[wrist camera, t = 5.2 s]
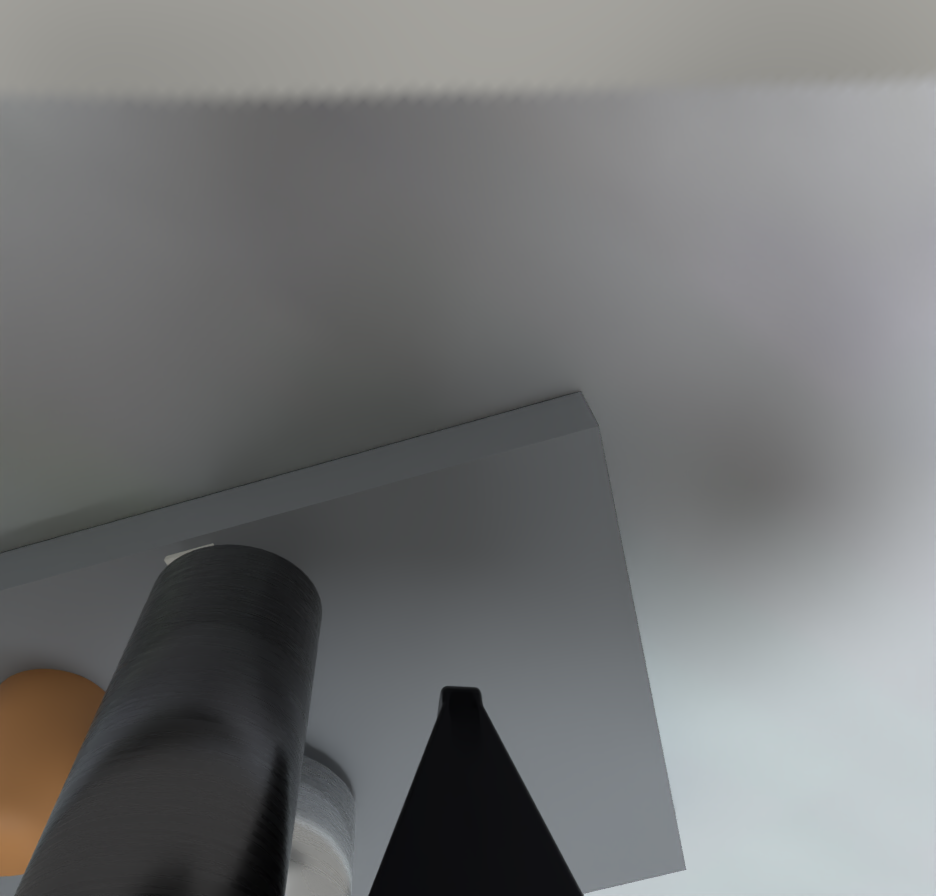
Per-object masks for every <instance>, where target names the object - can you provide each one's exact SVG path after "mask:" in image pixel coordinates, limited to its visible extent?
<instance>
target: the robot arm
mask: <svg viewBox="0 0 936 896" xmlns="http://www.w3.org/2000/svg"><path fill="white" fill-rule="evenodd" d="M368 896H584V895H583V893H582V891H581V889H580V887H579V886H578V884H577V882H576V880H575V878H574V876H573V874H572V872H571V870H570V869H569V867H568V865H567V863H566V861H565V859H564V857H563V855H562V853H561V852H560V850H559V848H558V846H557V844H556V842H555V840H554V838H553V836H552V835H551V833H550V831H549V829H548V827H547V825H546V823H545V821H544V819H543V818H542V816H541V814H540V812H539V810H538V808H537V806H536V804H535V802H534V801H533V799H532V797H531V795H530V793H529V791H528V789H527V787H526V785H525V784H524V782H523V780H522V778H521V776H520V774H519V772H518V770H517V768H516V767H515V765H514V763H513V761H512V759H511V757H510V755H509V753H508V751H507V750H506V748H505V746H504V744H503V742H502V740H501V738H500V736H499V734H498V733H497V731H496V729H495V727H494V725H493V723H492V721H491V719H490V717H489V716H488V714H487V712H486V710H485V708H484V706H483V701H482V693H481V691H480V689H478V688H477V687H463V686H445V687H443V688H442V689H441V692H440V698H439V705H438V713H437V719H436V722H435V724H434V727H433V730H432V732H431V735H430V737H429V740H428V742H427V745H426V748H425V750H424V753H423V755H422V758H421V761H420V763H419V766H418V768H417V771H416V773H415V776H414V779H413V781H412V784H411V786H410V789H409V791H408V794H407V797H406V799H405V802H404V804H403V807H402V810H401V812H400V815H399V817H398V820H397V822H396V825H395V828H394V830H393V833H392V835H391V838H390V840H389V843H388V846H387V848H386V851H385V853H384V856H383V859H382V861H381V864H380V866H379V869H378V871H377V874H376V877H375V879H374V882H373V884H372V887H371V890H370V892H369V895H368Z"/></svg>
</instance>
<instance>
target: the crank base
mask: <svg viewBox="0 0 936 896" xmlns="http://www.w3.org/2000/svg"><path fill="white" fill-rule="evenodd" d="M226 544H229V545H244V546H251V547H256V548H260V549H264V550H266V551H269V552H272V553H275V554H277V555H279V556H281V557H283V558H285V559H287V560H288V561H290V562H292V563H293V564H294V565H296V566H297V567H298V568H300V569H301V570H302V571H303V572H304V573H305V574H306V575H307V576H308V577H309V579H310V580H311V581H312V583H313V584H314V586H315V587H316V589H317V591H318V594H319V596H320V599H321V604H322V621H321V628H320V636H319V643H318V651H317V658H316V666H315V673H314V681H313V688H312V696H311V703H310V711H309V718H308V726H307V733H306V741H305V748H304V756H307V757H309V758H311V759H313V760H315V761H317V762H319V763H321V764H323V765H324V766H326V767H327V768H329V769H330V770H332V771H333V772H334V773H335V774H337V775H338V776H339V777H340V778H341V779H342V780H343V781H344V783H345V784H346V785H347V787H348V788H349V790H350V791H351V793H352V796H353V798H354V801H355V806H356V821H355V839H354V857H353V875H352V892H351V896H368V895H369V892H370V890H371V887H372V884H373V882H374V879H375V877H376V874H377V871H378V869H379V866H380V864H381V861H382V859H383V856H384V853H385V851H386V848H387V846H388V843H389V840H390V838H391V835H392V833H393V830H394V828H395V825H396V822H397V820H398V817H399V815H400V812H401V810H402V807H403V804H404V802H405V799H406V797H407V794H408V791H409V789H410V786H411V784H412V781H413V779H414V776H415V773H416V771H417V768H418V766H419V763H420V761H421V758H422V755H423V753H424V750H425V748H426V745H427V742H428V740H429V737H430V735H431V732H432V730H433V727H434V724H435V722H436V719H437V713H438V705H439V698H440V692H441V689H442V688H443V687H445V686H463V687H477V688H478V689H480V691H481V693H482V701H483V706H484V708H485V710H486V712H487V714H488V716H489V717H490V719H491V721H492V723H493V725H494V727H495V729H496V731H497V733H498V734H499V736H500V738H501V740H502V742H503V744H504V746H505V748H506V750H507V751H508V753H509V755H510V757H511V759H512V761H513V763H514V765H515V767H516V768H517V770H518V772H519V774H520V776H521V778H522V780H523V782H524V784H525V785H526V787H527V789H528V791H529V793H530V795H531V797H532V799H533V801H534V802H535V804H536V806H537V808H538V810H539V812H540V814H541V816H542V818H543V819H544V821H545V823H546V825H547V827H548V829H549V831H550V833H551V835H552V836H553V838H554V840H555V842H556V844H557V846H558V848H559V850H560V852H561V853H562V855H563V857H564V859H565V861H566V863H567V865H568V867H569V869H570V870H571V872H572V874H573V876H574V878H575V880H576V882H577V884H578V886H579V887H580V889H581V891H582V893H583V894H584V893H588V892H593V891H597V890H601V889H605V888H610V887H614V886H618V885H623V884H627V883H631V882H635V881H640V880H644V879H648V878H653V877H657V876H661V875H665V874H670V873H674V872H678V871H682V870H686V866H685V861H684V856H683V851H682V846H681V841H680V836H679V831H678V826H677V821H676V816H675V811H674V805H673V800H672V795H671V790H670V785H669V780H668V775H667V770H666V765H665V760H664V755H663V750H662V744H661V739H660V734H659V729H658V724H657V719H656V714H655V709H654V704H653V699H652V694H651V689H650V683H649V678H648V673H647V668H646V663H645V658H644V653H643V648H642V643H641V638H640V633H639V628H638V622H637V617H636V612H635V607H634V602H633V597H632V592H631V587H630V582H629V577H628V572H627V567H626V562H625V556H624V551H623V546H622V541H621V536H620V531H619V526H618V521H617V516H616V511H615V506H614V501H613V495H612V490H611V485H610V480H609V475H608V470H607V465H606V460H605V455H604V450H603V445H602V440H601V434H600V429H599V425H598V423H597V421H596V419H595V417H594V416H593V414H592V412H591V410H590V408H589V406H588V404H587V402H586V400H585V398H584V396H583V394H582V392H577V393H573V394H570V395H566V396H563V397H559V398H555V399H552V400H548V401H545V402H541V403H538V404H534V405H530V406H527V407H523V408H520V409H516V410H512V411H509V412H505V413H502V414H498V415H495V416H491V417H487V418H484V419H480V420H477V421H473V422H469V423H466V424H462V425H459V426H455V427H451V428H448V429H444V430H441V431H437V432H434V433H430V434H426V435H423V436H419V437H416V438H412V439H408V440H405V441H401V442H398V443H394V444H391V445H387V446H383V447H380V448H376V449H373V450H369V451H365V452H362V453H358V454H355V455H351V456H348V457H344V458H340V459H337V460H333V461H330V462H326V463H322V464H319V465H315V466H312V467H308V468H305V469H301V470H297V471H294V472H290V473H287V474H283V475H279V476H276V477H272V478H269V479H265V480H262V481H258V482H254V483H251V484H247V485H244V486H240V487H236V488H233V489H229V490H226V491H222V492H219V493H215V494H211V495H208V496H204V497H201V498H197V499H193V500H190V501H186V502H183V503H179V504H176V505H172V506H168V507H165V508H161V509H158V510H154V511H150V512H147V513H143V514H140V515H136V516H133V517H129V518H125V519H122V520H118V521H115V522H111V523H107V524H104V525H100V526H97V527H93V528H90V529H86V530H82V531H79V532H75V533H72V534H68V535H64V536H61V537H57V538H54V539H50V540H47V541H43V542H39V543H36V544H32V545H29V546H25V547H21V548H18V549H14V550H11V551H7V552H3V553H0V896H14V895H15V893H16V890H17V888H18V886H19V884H20V881H21V879H22V877H23V875H24V873H25V870H26V868H27V866H28V864H29V861H30V859H31V857H32V855H33V853H34V850H35V848H36V846H37V844H38V841H39V839H40V837H41V835H42V832H43V830H44V828H45V826H46V824H47V821H48V819H49V817H50V815H51V812H52V810H53V808H54V806H55V804H56V801H57V799H58V797H59V795H60V792H61V790H62V788H63V786H64V783H65V781H66V779H67V777H68V775H69V772H70V770H71V768H72V766H73V763H74V761H75V759H76V757H77V754H78V752H79V750H80V748H81V746H82V743H83V741H84V739H85V737H86V734H87V732H88V730H89V728H90V726H91V723H92V721H93V719H94V717H95V714H96V712H97V710H98V708H99V705H100V703H101V701H102V699H103V697H104V694H105V692H106V690H107V688H108V685H109V683H110V681H111V679H112V677H113V674H114V672H115V670H116V668H117V665H118V663H119V661H120V659H121V656H122V654H123V652H124V650H125V648H126V645H127V643H128V641H129V639H130V636H131V634H132V632H133V630H134V628H135V625H136V623H137V621H138V619H139V616H140V614H141V612H142V610H143V607H144V605H145V603H146V601H147V599H148V596H149V594H150V592H151V590H152V587H153V585H154V583H155V581H156V579H157V578H158V576H159V574H160V573H161V572H162V571H163V570H164V569H165V567H166V566H168V565H169V564H170V563H171V562H172V561H174V560H175V559H177V558H179V557H180V556H182V555H184V554H186V553H188V552H191V551H193V550H196V549H200V548H203V547H208V546H214V545H226Z"/></svg>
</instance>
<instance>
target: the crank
mask: <svg viewBox="0 0 936 896" xmlns="http://www.w3.org/2000/svg"><path fill="white" fill-rule="evenodd" d="M321 621H322V604H321V599H320V596H319V594H318V591H317V589H316V587H315V586H314V584H313V583H312V581H311V580H310V579H309V577H308V576H307V575H306V574H305V573H304V572H303V571H302V570H301V569H300V568H298V567H297V566H296V565H294V564H293V563H292V562H290V561H288V560H287V559H285V558H283V557H281V556H279V555H277V554H275V553H272V552H269V551H266V550H264V549H260V548H256V547H251V546H244V545H229V544H226V545H214V546H208V547H203V548H200V549H196V550H193V551H191V552H188V553H186V554H184V555H182V556H180V557H179V558H177V559H175V560H174V561H172V562H171V563H170V564H169V565H168V566H166V567H165V569H164V570H163V571H162V572H161V573H160V574H159V576H158V578H157V579H156V581H155V583H154V585H153V587H152V590H151V592H150V594H149V596H148V599H147V601H146V603H145V605H144V607H143V610H142V612H141V614H140V616H139V619H138V621H137V623H136V625H135V628H134V630H133V632H132V634H131V636H130V639H129V641H128V643H127V645H126V648H125V650H124V652H123V654H122V656H121V659H120V661H119V663H118V665H117V668H116V670H115V672H114V674H113V677H112V679H111V681H110V683H109V685H108V688H107V690H106V692H105V694H104V697H103V699H102V701H101V703H100V705H99V708H98V710H97V712H96V714H95V717H94V719H93V721H92V723H91V726H90V728H89V730H88V732H87V734H86V737H85V739H84V741H83V743H82V746H81V748H80V750H79V752H78V754H77V757H76V759H75V761H74V763H73V766H72V768H71V770H70V772H69V775H68V777H67V779H66V781H65V783H64V786H63V788H62V790H61V792H60V795H59V797H58V799H57V801H56V804H55V806H54V808H53V810H52V812H51V815H50V817H49V819H48V821H47V824H46V826H45V828H44V830H43V832H42V835H41V837H40V839H39V841H38V844H37V846H36V848H35V850H34V853H33V855H32V857H31V859H30V861H29V864H28V866H27V868H26V870H25V873H24V875H23V877H22V879H21V881H20V884H19V886H18V888H17V890H16V893H15V895H14V896H351V892H352V875H353V857H354V839H355V821H356V806H355V801H354V798H353V796H352V793H351V791H350V790H349V788H348V787H347V785H346V784H345V783H344V781H343V780H342V779H341V778H340V777H339V776H338V775H337V774H335V773H334V772H333V771H332V770H330V769H329V768H327V767H326V766H324V765H323V764H321V763H319V762H317V761H315V760H313V759H311V758H309V757H307V756H304V748H305V741H306V733H307V726H308V718H309V711H310V703H311V696H312V688H313V681H314V673H315V666H316V658H317V651H318V643H319V636H320V628H321Z"/></svg>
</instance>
